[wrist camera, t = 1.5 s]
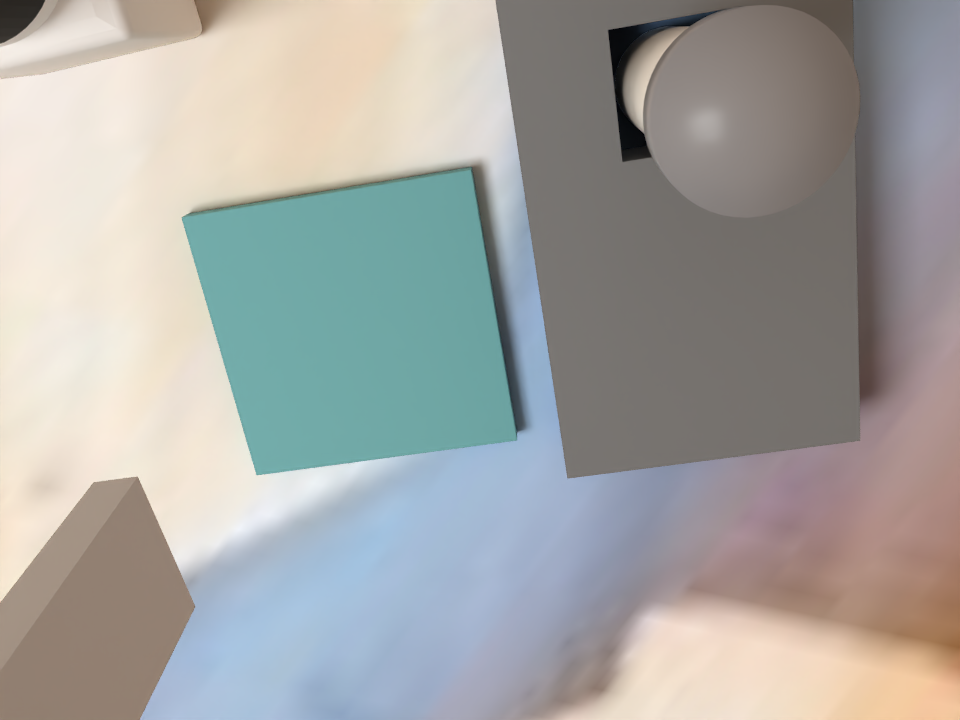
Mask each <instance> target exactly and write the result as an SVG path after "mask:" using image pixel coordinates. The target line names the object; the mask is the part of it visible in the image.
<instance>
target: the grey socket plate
mask: <svg viewBox="0 0 960 720" xmlns="http://www.w3.org/2000/svg"><path fill="white" fill-rule="evenodd" d="M755 5H778V6H783V7H789V8H793V9H796V10H799V11H802V12H805V13H807V14H809V15H811V16H812V17H814V18H816V19H818V20H819V21H821V22H822V23H823V24H825V25H826V26H827V27H828V28H829V29H830V30H832V31H833V32H834V33H835V34H836V35H837V37H838V38H839V39H840V41H841V42H842V43H843V44H844V46H845V47H846V49H847V51H848V53H849V55H850V57H851V58H852V61H853V64H854V48H853V0H496V6H497V13H498V19H499V26H500V33H501V39H502V46H503V53H504V59H505V66H506V73H507V79H508V86H509V93H510V99H511V106H512V113H513V119H514V126H515V132H516V139H517V146H518V152H519V159H520V166H521V172H522V179H523V186H524V192H525V199H526V206H527V212H528V219H529V225H530V232H531V239H532V245H533V252H534V259H535V265H536V272H537V279H538V285H539V292H540V299H541V305H542V312H543V318H544V325H545V332H546V338H547V345H548V352H549V358H550V365H551V372H552V378H553V385H554V392H555V398H556V405H557V412H558V418H559V425H560V431H561V438H562V445H563V451H564V458H565V465H566V471H567V478H575V477H583V476H590V475H598V474H606V473H614V472H621V471H629V470H637V469H645V468H652V467H660V466H668V465H676V464H683V463H691V462H699V461H707V460H714V459H722V458H730V457H738V456H745V455H753V454H761V453H769V452H776V451H784V450H792V449H800V448H807V447H815V446H823V445H831V444H838V443H846V442H854V441H860V396H859V338H858V280H857V222H856V164H855V135H854V138H853V141H852V143H851V145H850V147H849V150H848V152H847V154H846V155H845V157H844V159H843V160H842V162H841V164H840V165H839V167H838V168H837V169H836V171H835V172H834V173H833V175H832V176H831V177H830V178H829V179H828V180H827V181H826V182H825V183H824V184H823V185H822V186H821V187H820V188H819V189H818V190H816V191H815V192H814V193H813V194H812V195H810V196H809V197H807V198H806V199H804V200H803V201H801V202H800V203H798V204H796V205H794V206H792V207H790V208H788V209H785V210H782V211H780V212H777V213H774V214H769V215H765V216H760V217H749V218H742V217H730V216H724V215H720V214H717V213H713V212H710V211H708V210H706V209H704V208H701V207H699V206H697V205H696V204H694V203H693V202H691V201H690V200H688V199H687V198H686V197H685V196H683V195H682V194H681V193H680V192H679V191H678V190H677V189H676V188H675V187H674V186H673V185H672V184H671V183H670V182H669V181H668V180H667V178H666V177H665V176H664V175H663V174H662V173H661V171H660V170H659V168H658V167H657V165H656V164H655V162H654V160H653V158H652V156H651V154H650V152H649V149H648V146H641V147H635V148H629V149H623V150H621V145H620V136H619V127H618V118H617V109H616V100H615V91H614V82H613V72H612V63H611V54H610V45H609V36H608V30H610V29H616V28H622V27H627V26H633V25H638V24H644V23H650V22H655V21H661V20H667V19H672V18H678V17H683V16H689V15H695V14H700V13H706V12H711V11H717V10H726V9H730V8H734V7H744V6H755Z"/></svg>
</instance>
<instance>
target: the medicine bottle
mask: <svg viewBox="0 0 960 720" xmlns="http://www.w3.org/2000/svg"><path fill="white" fill-rule="evenodd" d="M201 32H202V25H201V21H200V18H199V15H198V12H197V8H196V5H195V2H194V0H0V79H4V78H14V77H23V76H33V75H42V74H46V73H51V72H55V71H59V70H63V69H67V68H71V67H76V66H80V65H84V64H88V63H92V62H97V61H101V60H105V59H109V58H113V57H117V56H122V55H126V54H130V53H134V52H138V51H142V50H147V49H151V48H155V47H159V46H163V45H168V44H172V43H176V42H180V41H184V40H188V39H193V38H196V37H198V36H199V35H200V34H201Z"/></svg>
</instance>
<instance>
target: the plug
mask: <svg viewBox="0 0 960 720" xmlns="http://www.w3.org/2000/svg"><path fill="white" fill-rule="evenodd" d="M615 94H616V98H617V101H618V104H619V106H620V109H621V110H622V112H623V114H624V115H625V116H626V117H627V119H628V120H629V121H630V122H631V123H633V124H634V125H635V126H636V127H637V128H638V129H639V130H641V131H642V132H643V133H644V134H645V139H646V142H647V146H648V149H649V152H650V154H651V156H652V158H653V160H654V162H655V164H656V165H657V167H658V168H659V170H660V171H661V173H662V174H663V175H664V176H665V177H666V178H667V180H668V181H669V182H670V183H671V184H672V185H673V186H674V187H675V188H676V189H677V190H678V191H679V192H680V193H681V194H682V195H683V196H685V197H686V198H687V199H688V200H690V201H691V202H693V203H694V204H696V205H697V206H699V207H701V208H704V209H706V210H708V211H710V212H713V213H717V214H720V215H724V216H730V217H742V218H749V217H760V216H765V215H769V214H774V213H777V212H780V211H782V210H785V209H788V208H790V207H792V206H794V205H796V204H798V203H800V202H801V201H803V200H804V199H806V198H807V197H809V196H810V195H812V194H813V193H814V192H815V191H816V190H818V189H819V188H820V187H821V186H822V185H823V184H824V183H825V182H826V181H827V180H828V179H829V178H830V177H831V176H832V175H833V173H834V172H835V171H836V169H837V168H838V167H839V165H840V164H841V162H842V160H843V159H844V157H845V155H846V154H847V152H848V150H849V147H850V145H851V143H852V141H853V138H854V135H855V131H856V128H857V124H858V118H859V113H860V89H859V81H858V77H857V72H856V69H855V66H854V64H853V61H852V58H851V57H850V55H849V53H848V51H847V49H846V47H845V46H844V44H843V43H842V42H841V41H840V39H839V38H838V37H837V35H836V34H835V33H834V32H833V31H832V30H830V29H829V28H828V27H827V26H826V25H825V24H823V23H822V22H821V21H819V20H818V19H816V18H814V17H812V16H811V15H809V14H807V13H805V12H802V11H799V10H796V9H793V8H789V7H783V6H778V5H755V6H744V7H734V8H730V9H726V10H722V11H719V12H716V13H714V14H711V15H709V16H707V17H705V18H703V19H701V20H699V21H697V22H696V23H694V24H693V25H691V26H690V27H689V26H665V27H659V28H655V29H652V30H650V31H648V32H646V33H644V34H642V35H641V36H639V37H638V38H637V39H635V40H634V41H633V42H632V43H631V44H630V45H629V47H628V48H627V49H626V50H625V52H624V54H623V55H622V57H621V59H620V61H619V64H618V67H617V70H616V75H615Z"/></svg>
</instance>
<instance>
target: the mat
mask: <svg viewBox="0 0 960 720" xmlns="http://www.w3.org/2000/svg"><path fill="white" fill-rule="evenodd" d="M182 221H183V224H184V228H185V231H186V234H187V238H188V241H189V245H190V248H191V252H192V255H193V258H194V262H195V265H196V269H197V272H198V276H199V279H200V282H201V286H202V289H203V293H204V296H205V300H206V303H207V306H208V310H209V313H210V317H211V320H212V324H213V327H214V331H215V334H216V337H217V341H218V344H219V348H220V351H221V355H222V358H223V361H224V365H225V368H226V372H227V375H228V379H229V382H230V385H231V389H232V392H233V396H234V399H235V403H236V406H237V409H238V413H239V416H240V420H241V423H242V427H243V430H244V434H245V437H246V440H247V444H248V447H249V451H250V454H251V458H252V461H253V464H254V468H255V471H256V475H262V474H270V473H277V472H285V471H292V470H300V469H307V468H315V467H322V466H329V465H337V464H344V463H352V462H359V461H367V460H374V459H382V458H389V457H397V456H404V455H412V454H419V453H426V452H434V451H441V450H449V449H456V448H464V447H471V446H479V445H486V444H494V443H501V442H509V441H516V440H517V429H516V424H515V418H514V412H513V406H512V400H511V394H510V388H509V382H508V376H507V371H506V365H505V359H504V353H503V347H502V341H501V335H500V329H499V324H498V318H497V312H496V306H495V300H494V294H493V288H492V282H491V276H490V271H489V265H488V259H487V253H486V247H485V241H484V235H483V229H482V223H481V218H480V212H479V206H478V200H477V194H476V188H475V182H474V176H473V171H472V167H467V168H461V169H455V170H449V171H443V172H437V173H431V174H425V175H419V176H413V177H407V178H401V179H395V180H389V181H383V182H377V183H371V184H365V185H358V186H352V187H346V188H340V189H334V190H328V191H322V192H316V193H310V194H304V195H298V196H292V197H286V198H280V199H274V200H268V201H262V202H256V203H250V204H244V205H238V206H231V207H225V208H219V209H213V210H207V211H201V212H195V213H189V214H187V215H185V216H183V217H182Z"/></svg>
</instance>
